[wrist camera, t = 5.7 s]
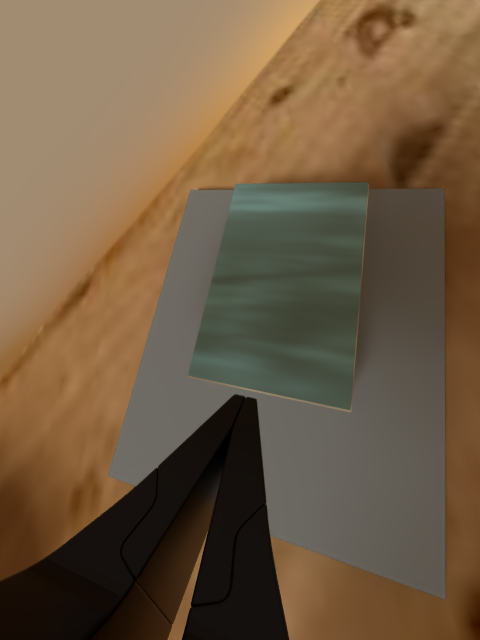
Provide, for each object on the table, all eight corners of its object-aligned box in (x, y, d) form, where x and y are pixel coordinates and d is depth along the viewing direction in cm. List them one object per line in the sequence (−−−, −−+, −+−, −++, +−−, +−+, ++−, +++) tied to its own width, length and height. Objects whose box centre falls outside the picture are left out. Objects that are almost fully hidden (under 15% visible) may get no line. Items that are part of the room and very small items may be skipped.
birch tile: (352, 413, 11) (370, 180, 15) (185, 376, 14) (234, 182, 17) (339, 408, 15) (357, 217, 18) (205, 379, 17) (243, 214, 20)
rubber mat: (436, 586, 12) (445, 599, 11) (115, 471, 17) (107, 475, 17) (437, 196, 18) (444, 188, 17) (193, 196, 23) (190, 189, 22)
